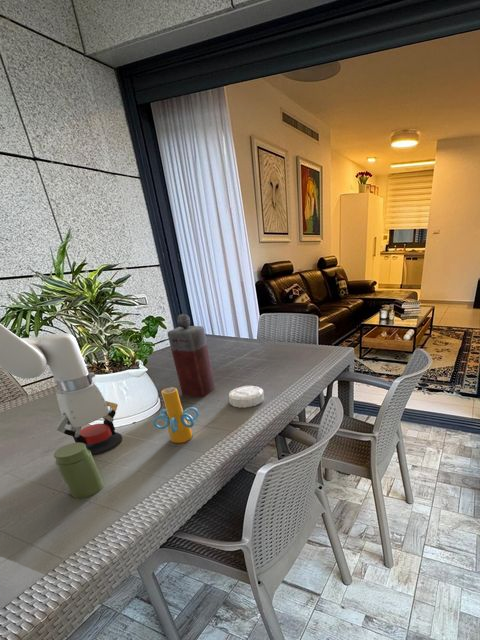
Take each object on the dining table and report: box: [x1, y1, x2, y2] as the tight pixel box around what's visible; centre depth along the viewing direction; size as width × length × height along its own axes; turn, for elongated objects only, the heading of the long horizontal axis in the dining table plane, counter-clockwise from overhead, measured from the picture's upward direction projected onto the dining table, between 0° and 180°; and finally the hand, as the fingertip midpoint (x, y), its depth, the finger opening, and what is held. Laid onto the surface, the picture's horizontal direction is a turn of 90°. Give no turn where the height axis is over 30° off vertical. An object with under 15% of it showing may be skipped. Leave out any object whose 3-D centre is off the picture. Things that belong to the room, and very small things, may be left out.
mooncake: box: [227, 385, 265, 409], centre depth 122 cm, size 12×12×4 cm
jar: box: [53, 442, 105, 499], centre depth 80 cm, size 7×7×11 cm
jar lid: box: [80, 422, 112, 444], centre depth 99 cm, size 8×8×2 cm
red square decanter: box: [167, 314, 217, 398], centre depth 125 cm, size 9×11×28 cm
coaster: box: [86, 431, 123, 456], centre depth 100 cm, size 12×12×1 cm
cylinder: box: [152, 387, 200, 444], centre depth 98 cm, size 12×10×15 cm
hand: (97, 440), depth 100 cm, fingers closed on jar lid, 7 cm apart
